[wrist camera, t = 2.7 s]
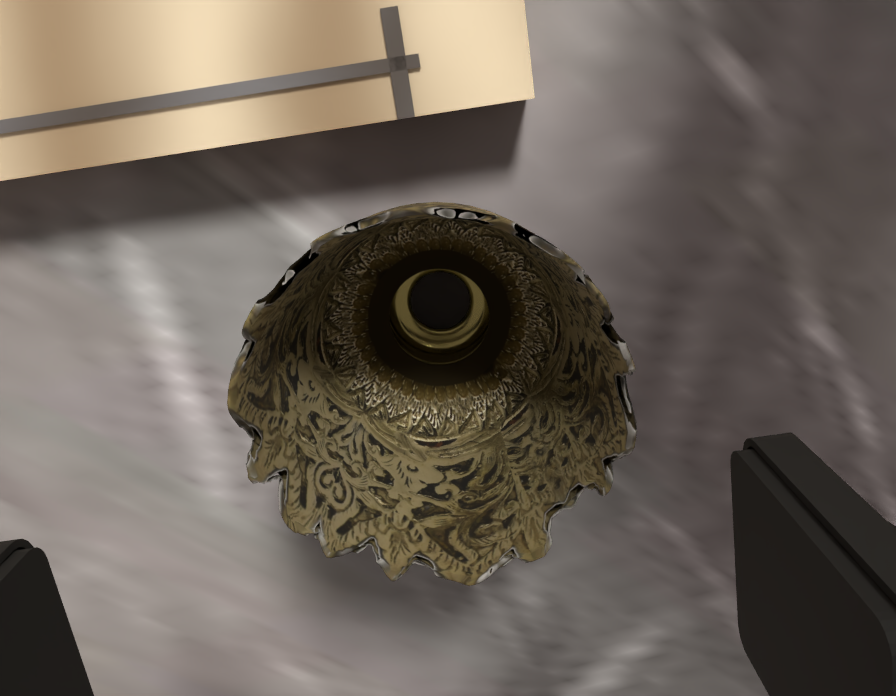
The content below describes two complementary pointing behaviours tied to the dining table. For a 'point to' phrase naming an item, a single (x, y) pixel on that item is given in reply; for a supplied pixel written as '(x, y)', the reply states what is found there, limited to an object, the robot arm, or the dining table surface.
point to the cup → (433, 392)
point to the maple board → (238, 72)
